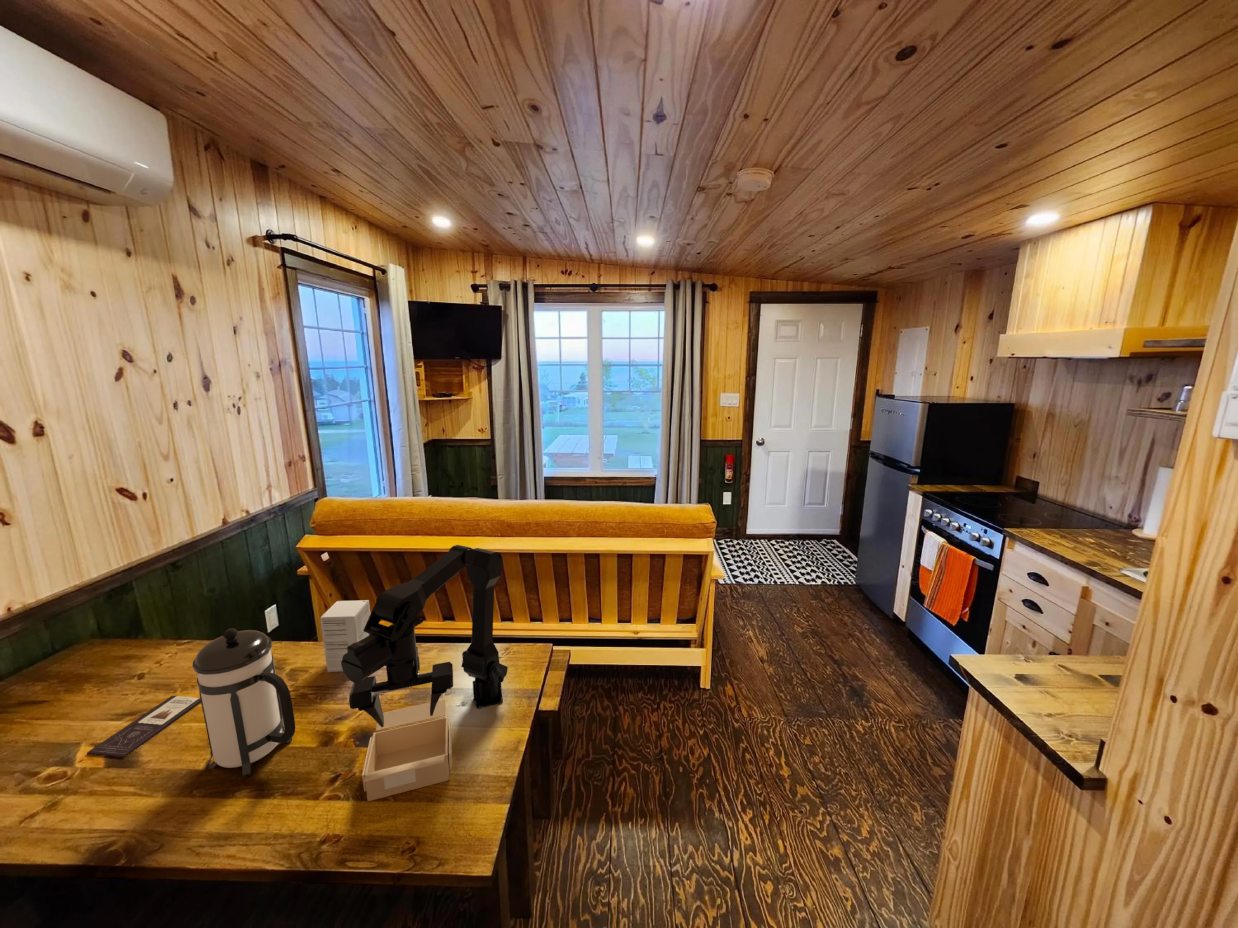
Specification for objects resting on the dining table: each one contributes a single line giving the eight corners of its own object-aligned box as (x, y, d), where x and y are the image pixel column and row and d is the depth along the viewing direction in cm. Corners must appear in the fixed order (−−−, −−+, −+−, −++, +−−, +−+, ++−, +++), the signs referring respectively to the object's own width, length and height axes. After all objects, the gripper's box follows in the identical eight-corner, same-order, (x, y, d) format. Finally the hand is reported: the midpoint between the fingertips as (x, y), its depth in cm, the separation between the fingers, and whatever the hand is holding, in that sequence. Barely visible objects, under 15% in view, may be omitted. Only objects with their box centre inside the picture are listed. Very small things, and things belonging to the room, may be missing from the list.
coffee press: (194, 798, 91) (165, 661, 85) (217, 741, 105) (194, 620, 99) (300, 765, 99) (281, 637, 93) (309, 716, 113) (292, 602, 107)
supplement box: (343, 652, 139) (336, 599, 135) (375, 650, 139) (370, 598, 136) (326, 672, 129) (318, 617, 126) (361, 671, 130) (354, 615, 127)
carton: (452, 738, 107) (450, 715, 106) (452, 779, 96) (450, 754, 95) (373, 756, 102) (370, 733, 100) (364, 802, 91) (361, 776, 90)
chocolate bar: (86, 752, 102) (171, 695, 119) (87, 756, 102) (172, 698, 119) (124, 755, 101) (204, 698, 118) (125, 759, 101) (204, 701, 119)
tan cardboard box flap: (445, 715, 105) (445, 715, 105) (445, 699, 108) (445, 699, 108) (376, 730, 101) (376, 730, 101) (377, 713, 103) (377, 714, 103)
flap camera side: (367, 773, 90) (367, 775, 90) (363, 780, 87) (363, 782, 87) (444, 754, 95) (444, 756, 95) (443, 760, 91) (444, 761, 91)
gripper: (450, 623, 104) (454, 685, 107) (355, 639, 98) (363, 704, 101) (450, 651, 93) (455, 719, 97) (344, 671, 87) (353, 742, 91)
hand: (407, 719), depth 96 cm, fingers open, 9 cm apart
